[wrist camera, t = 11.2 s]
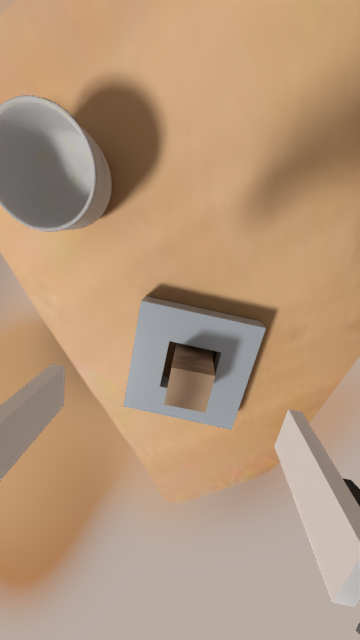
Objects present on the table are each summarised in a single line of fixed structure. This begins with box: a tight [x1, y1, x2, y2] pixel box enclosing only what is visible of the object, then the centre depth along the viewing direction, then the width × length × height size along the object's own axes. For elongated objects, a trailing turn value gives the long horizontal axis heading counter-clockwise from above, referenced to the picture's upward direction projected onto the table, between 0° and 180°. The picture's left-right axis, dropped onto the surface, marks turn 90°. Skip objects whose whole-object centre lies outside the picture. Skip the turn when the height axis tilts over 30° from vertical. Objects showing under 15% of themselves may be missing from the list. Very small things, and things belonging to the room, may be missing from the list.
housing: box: [124, 296, 266, 430], centre depth 34 cm, size 16×16×3 cm
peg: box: [164, 343, 215, 413], centre depth 31 cm, size 5×5×8 cm
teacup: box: [0, 95, 112, 232], centre depth 25 cm, size 14×11×8 cm
